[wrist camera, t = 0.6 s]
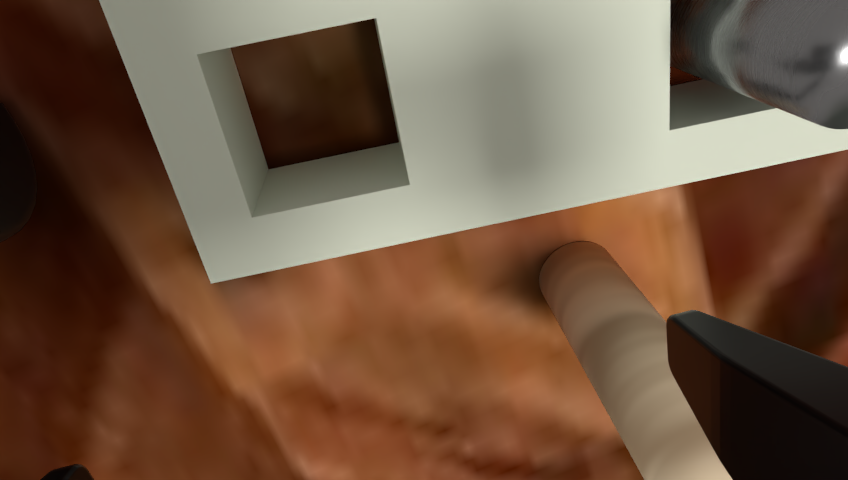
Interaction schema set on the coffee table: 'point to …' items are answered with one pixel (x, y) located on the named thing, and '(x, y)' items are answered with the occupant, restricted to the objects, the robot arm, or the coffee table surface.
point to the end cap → (14, 178)
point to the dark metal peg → (769, 52)
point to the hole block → (437, 121)
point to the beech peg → (627, 362)
